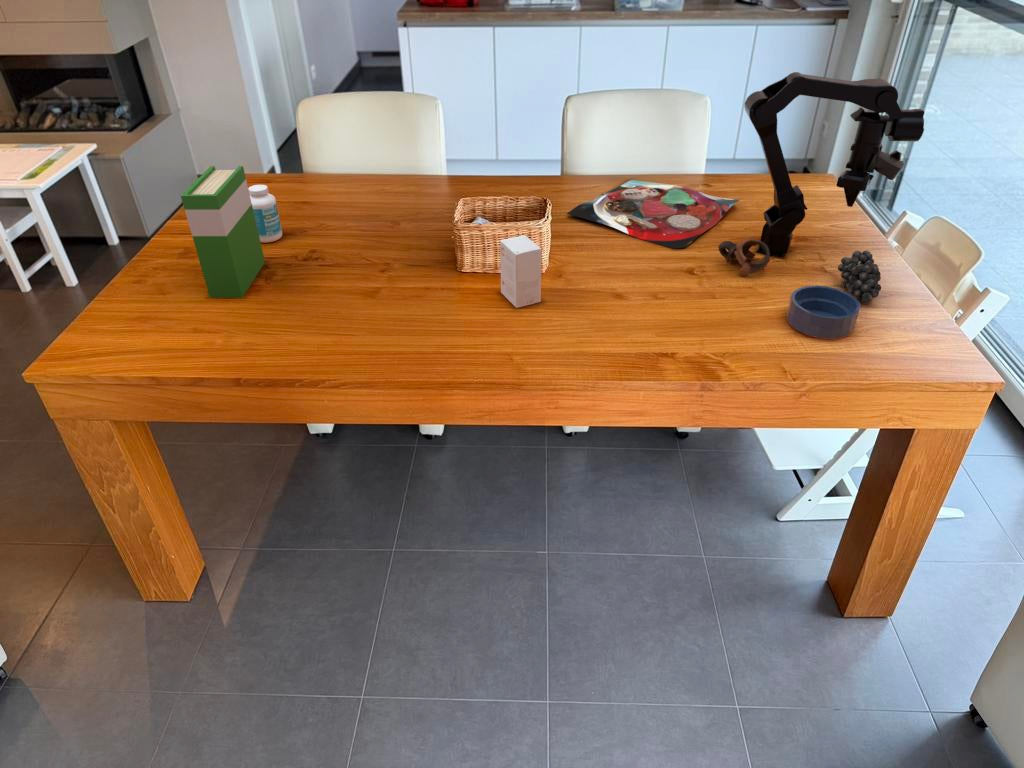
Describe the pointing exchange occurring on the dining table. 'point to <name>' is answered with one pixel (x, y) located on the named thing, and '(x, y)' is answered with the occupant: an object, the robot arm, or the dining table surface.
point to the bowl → (823, 312)
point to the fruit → (861, 276)
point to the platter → (656, 212)
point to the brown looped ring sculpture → (744, 254)
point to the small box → (520, 270)
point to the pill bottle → (265, 213)
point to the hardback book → (224, 231)
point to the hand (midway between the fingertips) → (849, 206)
